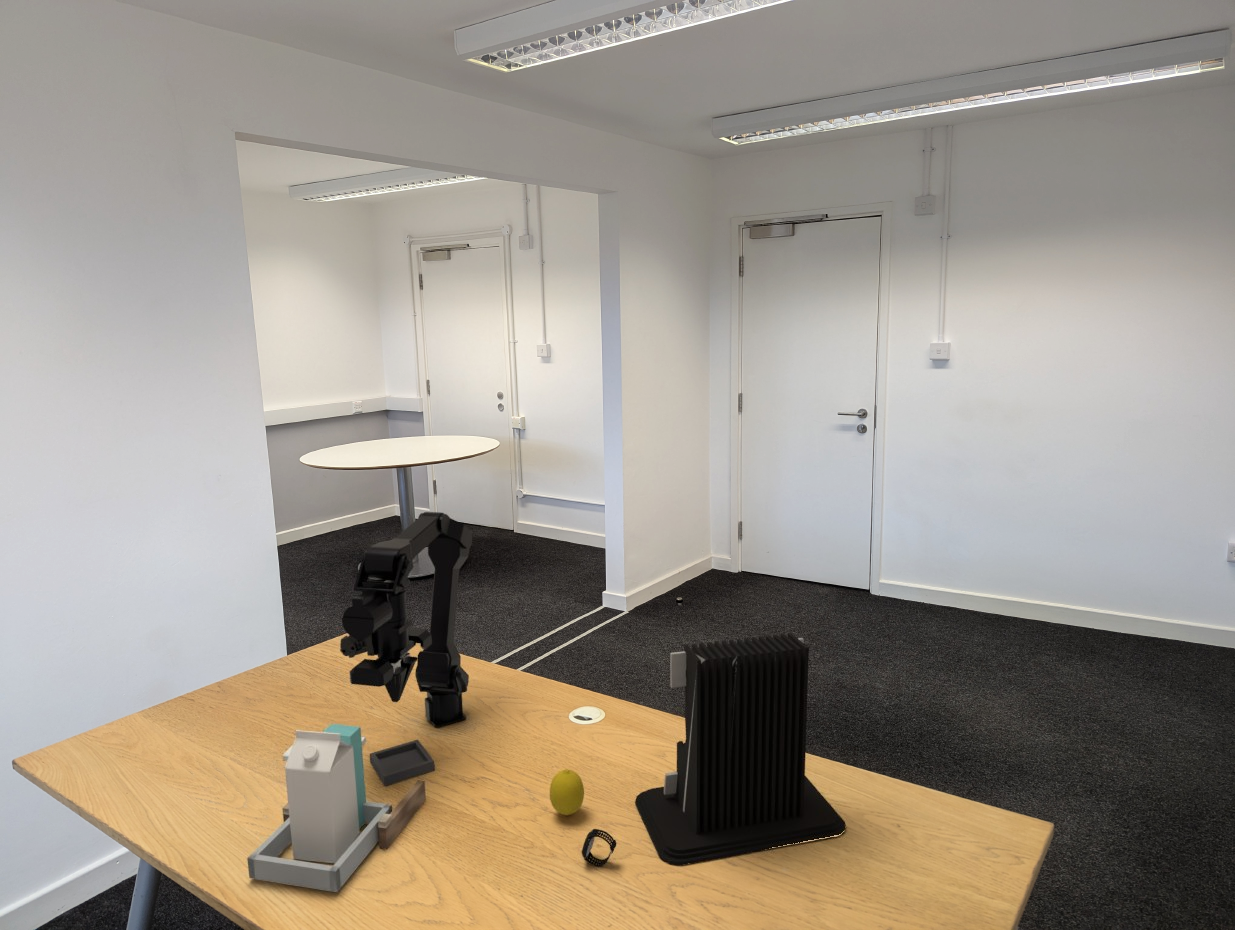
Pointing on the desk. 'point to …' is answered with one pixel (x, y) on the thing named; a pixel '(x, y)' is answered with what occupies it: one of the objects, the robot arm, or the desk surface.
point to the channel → (394, 814)
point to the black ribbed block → (738, 755)
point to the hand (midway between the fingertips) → (395, 701)
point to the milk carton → (321, 796)
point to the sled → (333, 877)
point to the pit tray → (401, 762)
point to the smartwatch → (589, 843)
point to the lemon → (566, 792)
